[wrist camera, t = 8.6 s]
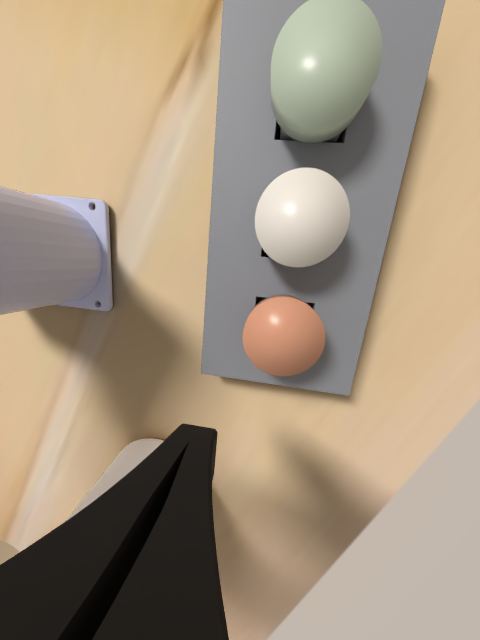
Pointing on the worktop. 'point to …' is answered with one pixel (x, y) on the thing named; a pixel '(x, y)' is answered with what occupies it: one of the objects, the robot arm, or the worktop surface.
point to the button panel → (284, 155)
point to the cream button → (302, 217)
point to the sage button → (324, 68)
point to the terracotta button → (283, 335)
